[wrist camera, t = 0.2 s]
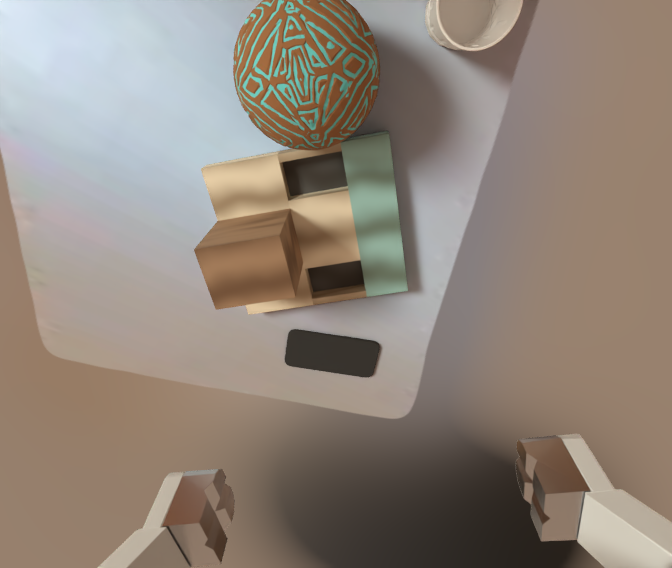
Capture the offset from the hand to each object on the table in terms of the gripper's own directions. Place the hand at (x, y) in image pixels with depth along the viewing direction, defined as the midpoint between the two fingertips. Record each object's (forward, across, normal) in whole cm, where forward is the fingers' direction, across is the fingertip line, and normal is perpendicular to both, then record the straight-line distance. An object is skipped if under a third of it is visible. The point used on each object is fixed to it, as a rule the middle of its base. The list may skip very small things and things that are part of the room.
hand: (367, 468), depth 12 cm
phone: (+48, +8, +32) cm, 58 cm away
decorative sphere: (+48, +3, -9) cm, 49 cm away
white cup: (+48, -14, -13) cm, 52 cm away
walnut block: (+45, +14, +10) cm, 48 cm away
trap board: (+48, +7, +10) cm, 49 cm away
